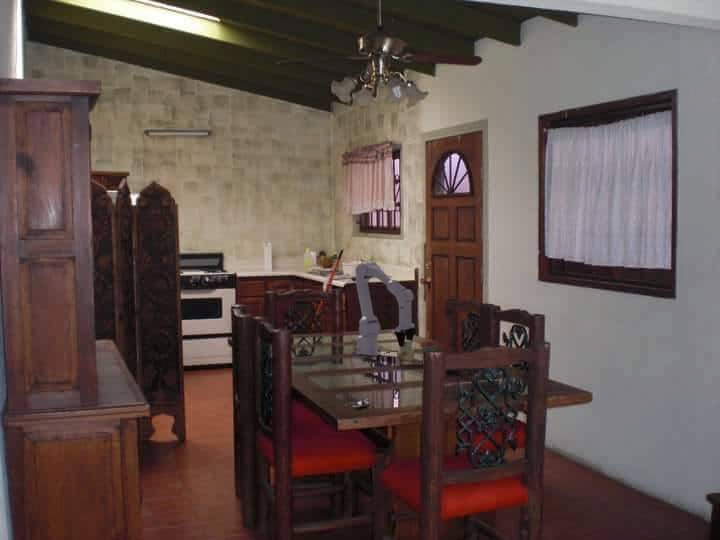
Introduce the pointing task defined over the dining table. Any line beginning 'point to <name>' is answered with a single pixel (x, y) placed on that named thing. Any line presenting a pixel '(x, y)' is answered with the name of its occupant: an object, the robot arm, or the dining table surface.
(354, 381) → the dining table surface
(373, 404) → the dining table surface
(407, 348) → the sage brick
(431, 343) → the cupcake
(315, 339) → the dining table surface
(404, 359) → the beech base brick
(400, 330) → the robot arm
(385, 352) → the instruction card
